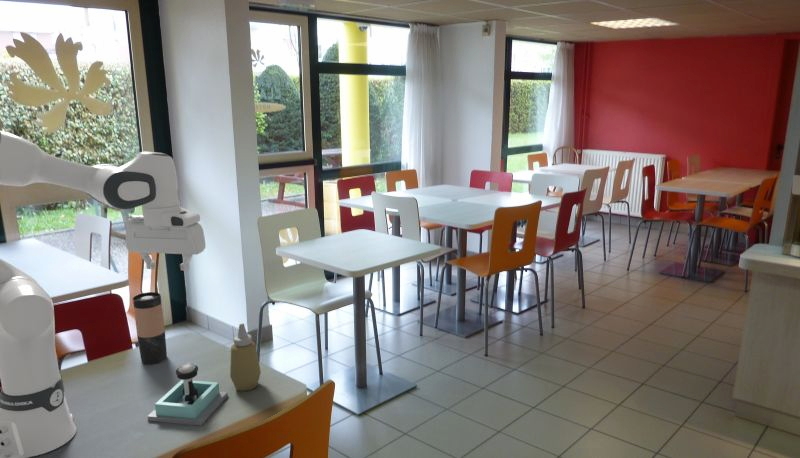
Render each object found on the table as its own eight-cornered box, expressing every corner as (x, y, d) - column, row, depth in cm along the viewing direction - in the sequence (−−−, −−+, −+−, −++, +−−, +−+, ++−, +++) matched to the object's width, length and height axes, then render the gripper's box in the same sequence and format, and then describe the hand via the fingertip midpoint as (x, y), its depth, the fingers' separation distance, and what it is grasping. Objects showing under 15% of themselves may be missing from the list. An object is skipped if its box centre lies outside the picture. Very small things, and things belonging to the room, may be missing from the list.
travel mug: (172, 353, 177) (165, 292, 172) (159, 365, 170) (152, 301, 165) (148, 353, 178) (141, 291, 173) (135, 364, 170) (127, 300, 166)
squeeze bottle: (243, 396, 152) (238, 333, 147) (224, 387, 156) (219, 325, 152) (267, 384, 158) (263, 323, 154) (248, 376, 163) (244, 316, 158)
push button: (195, 410, 143) (191, 373, 141) (173, 410, 143) (169, 373, 141) (204, 396, 150) (200, 361, 147) (183, 396, 150) (179, 361, 147)
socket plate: (148, 420, 141) (146, 405, 140) (178, 391, 154) (177, 377, 153) (201, 425, 139) (199, 409, 138) (227, 396, 152) (226, 381, 151)
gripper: (116, 218, 143) (123, 271, 146) (193, 220, 139) (198, 274, 143) (132, 212, 149) (138, 264, 152) (205, 214, 145) (210, 267, 149)
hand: (168, 269), depth 147 cm, fingers open, 8 cm apart
